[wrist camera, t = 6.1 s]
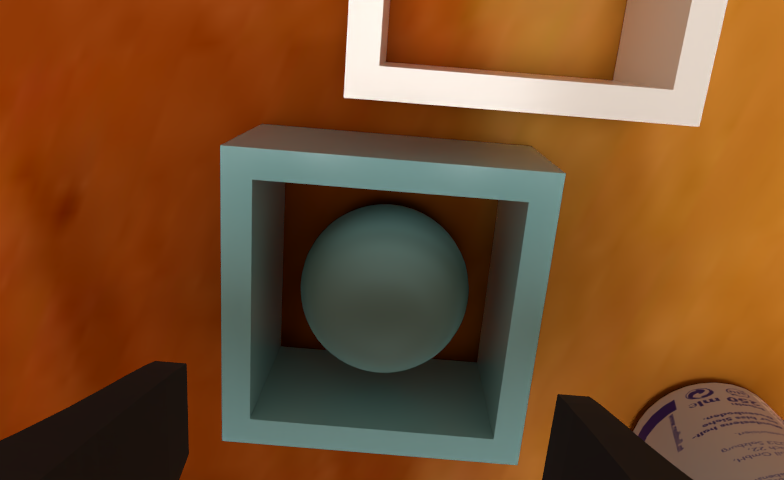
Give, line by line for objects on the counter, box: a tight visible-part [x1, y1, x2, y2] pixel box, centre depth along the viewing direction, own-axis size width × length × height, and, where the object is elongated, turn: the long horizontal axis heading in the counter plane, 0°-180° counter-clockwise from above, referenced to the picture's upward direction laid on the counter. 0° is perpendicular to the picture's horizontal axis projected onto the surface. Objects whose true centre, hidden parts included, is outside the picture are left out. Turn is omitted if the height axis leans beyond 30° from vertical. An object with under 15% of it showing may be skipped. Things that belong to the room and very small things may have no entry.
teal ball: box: [301, 204, 469, 373], centre depth 18 cm, size 5×5×5 cm
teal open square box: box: [220, 124, 566, 465], centre depth 19 cm, size 9×9×4 cm
